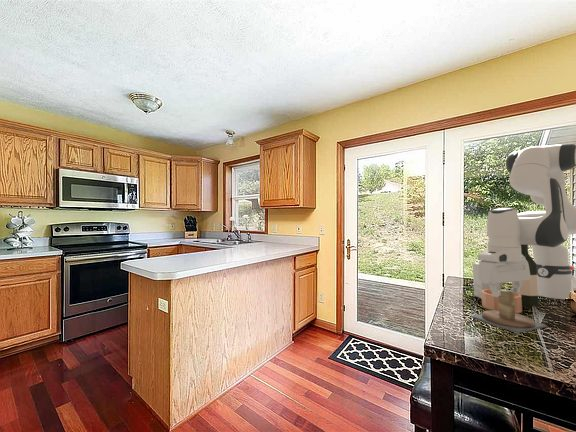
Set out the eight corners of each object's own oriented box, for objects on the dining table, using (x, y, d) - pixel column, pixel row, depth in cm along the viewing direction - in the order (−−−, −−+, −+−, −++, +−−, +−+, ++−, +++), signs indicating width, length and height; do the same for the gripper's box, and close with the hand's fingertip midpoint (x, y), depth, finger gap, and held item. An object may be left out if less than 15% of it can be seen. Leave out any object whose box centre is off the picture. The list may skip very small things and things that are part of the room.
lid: (499, 311, 95) (498, 284, 95) (545, 324, 82) (543, 293, 82) (473, 315, 91) (471, 287, 91) (517, 330, 78) (515, 298, 78)
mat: (499, 312, 95) (499, 311, 95) (546, 326, 82) (546, 324, 82) (472, 317, 91) (471, 315, 91) (517, 333, 78) (517, 331, 78)
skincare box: (492, 295, 117) (490, 262, 118) (502, 300, 111) (501, 264, 111) (473, 295, 118) (471, 262, 118) (482, 299, 111) (480, 264, 112)
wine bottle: (517, 305, 103) (513, 232, 104) (508, 299, 111) (505, 231, 112) (544, 307, 100) (540, 231, 101) (533, 301, 108) (529, 231, 109)
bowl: (495, 302, 107) (494, 288, 108) (529, 311, 96) (529, 295, 96) (475, 305, 104) (474, 290, 104) (508, 315, 92) (507, 298, 92)
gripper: (514, 252, 93) (515, 290, 93) (473, 255, 87) (475, 295, 87) (535, 254, 87) (537, 294, 87) (493, 257, 81) (495, 300, 81)
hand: (506, 295), depth 87 cm, fingers open, 8 cm apart
